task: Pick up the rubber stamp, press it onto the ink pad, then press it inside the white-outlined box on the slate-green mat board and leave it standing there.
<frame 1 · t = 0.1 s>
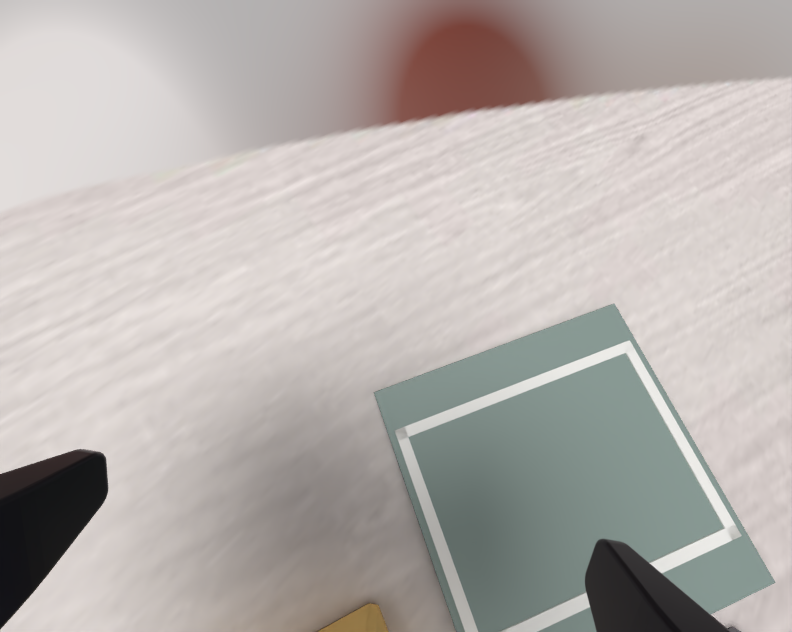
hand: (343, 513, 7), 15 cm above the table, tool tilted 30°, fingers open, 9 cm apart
marking board: (558, 480, 21), on the table
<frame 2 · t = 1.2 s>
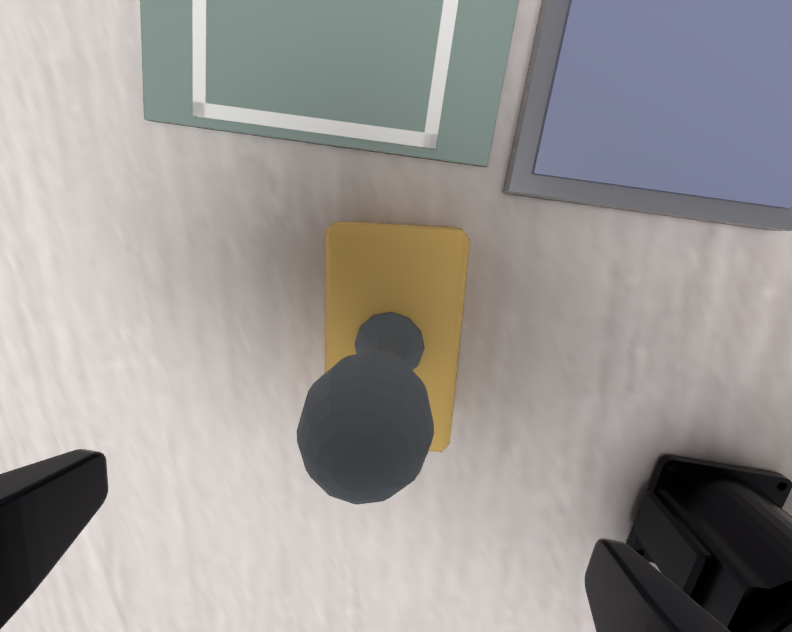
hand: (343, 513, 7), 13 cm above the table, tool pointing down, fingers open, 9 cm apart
ink pad: (686, 34, 15), on the table
rubber stamp: (397, 322, 20), on the table
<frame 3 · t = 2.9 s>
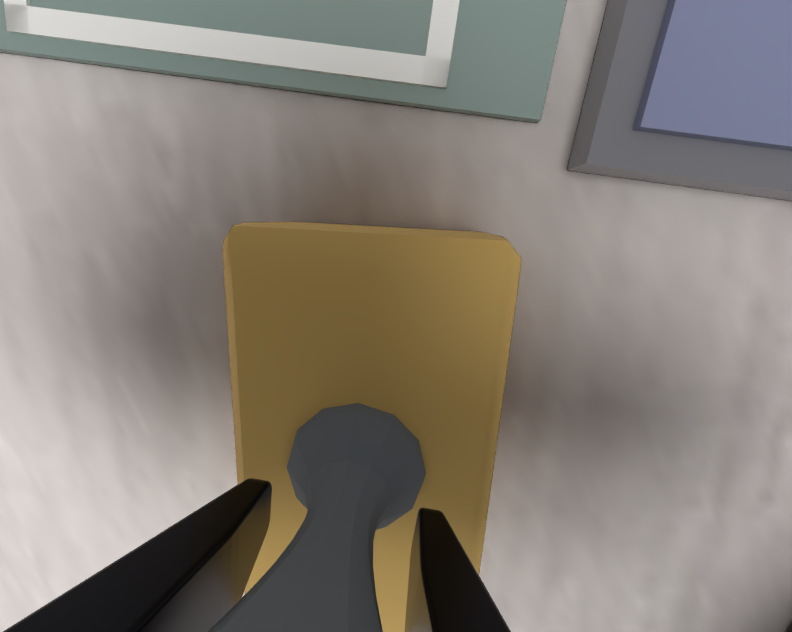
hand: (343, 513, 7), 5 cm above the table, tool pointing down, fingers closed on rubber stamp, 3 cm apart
rubber stamp: (380, 388, 12), on the table, touching gripper
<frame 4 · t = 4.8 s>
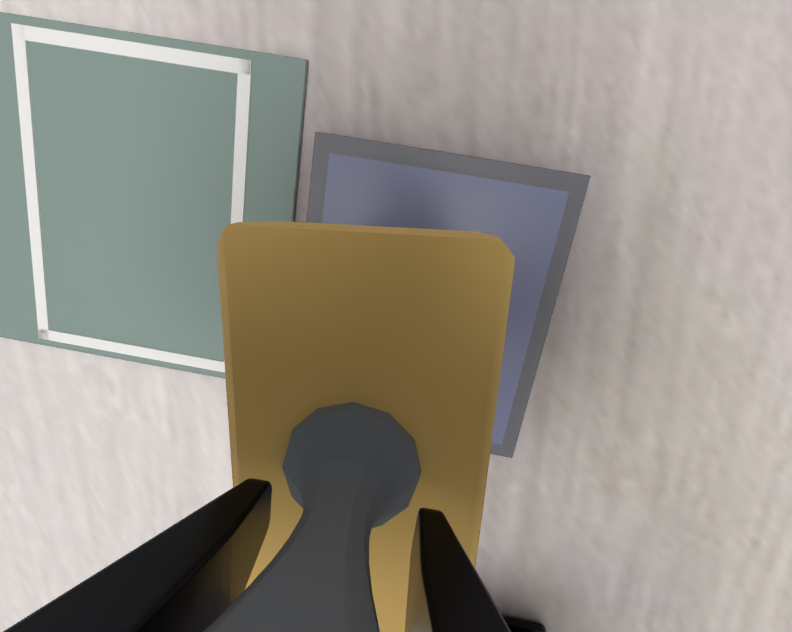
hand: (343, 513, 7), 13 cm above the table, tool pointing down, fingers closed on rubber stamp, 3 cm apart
ink pad: (422, 303, 19), on the table
rubber stamp: (375, 387, 12), point 8 cm above the table, touching gripper
marking board: (139, 215, 19), on the table
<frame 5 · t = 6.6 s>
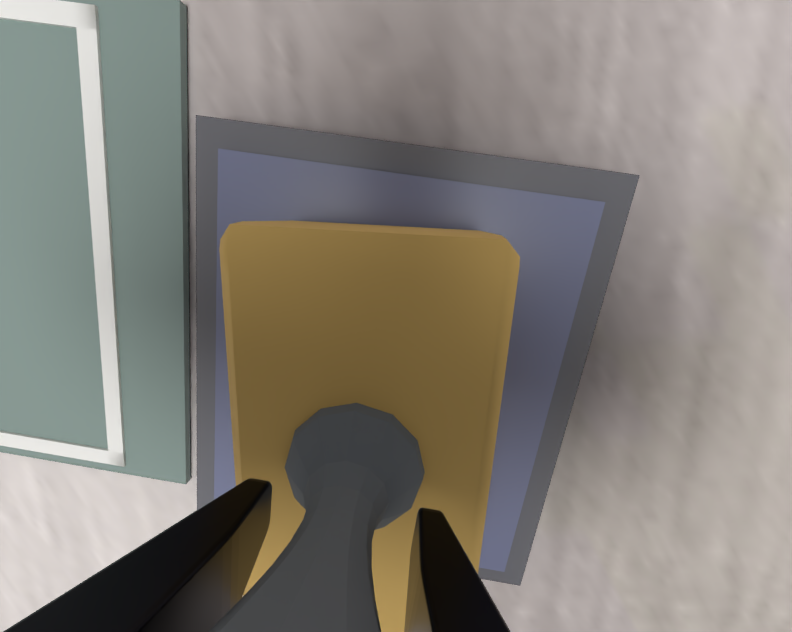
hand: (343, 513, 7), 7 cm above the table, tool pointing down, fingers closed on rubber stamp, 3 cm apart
ink pad: (384, 367, 13), on the table
rubber stamp: (378, 387, 12), point 1 cm above the table, touching gripper, ink pad
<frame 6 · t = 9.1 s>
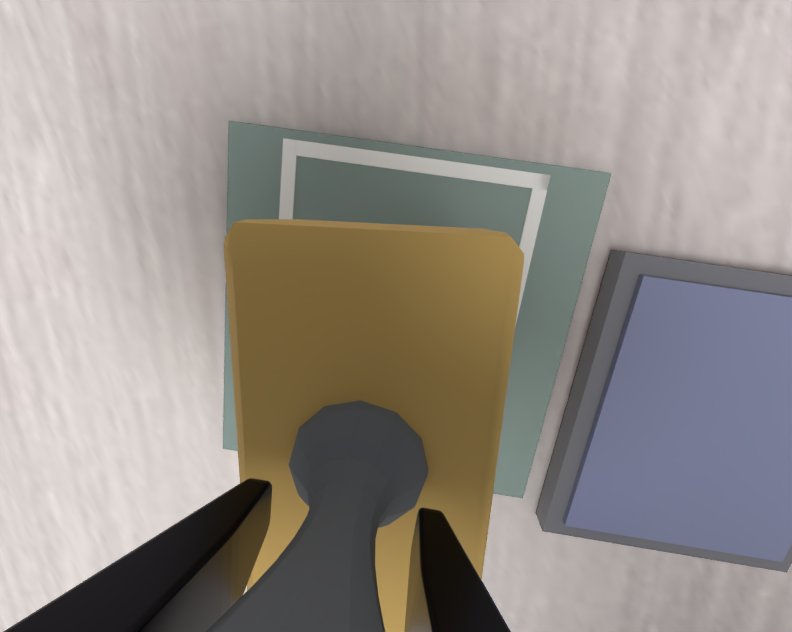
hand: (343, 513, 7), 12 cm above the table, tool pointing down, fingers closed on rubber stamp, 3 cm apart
ink pad: (695, 414, 18), on the table
rubber stamp: (382, 386, 12), point 6 cm above the table, touching gripper
marking board: (391, 327, 18), on the table
when the fingers open (5 cm above the table, at t = 10.6 s): rubber stamp stays where it is, resting on marking board.
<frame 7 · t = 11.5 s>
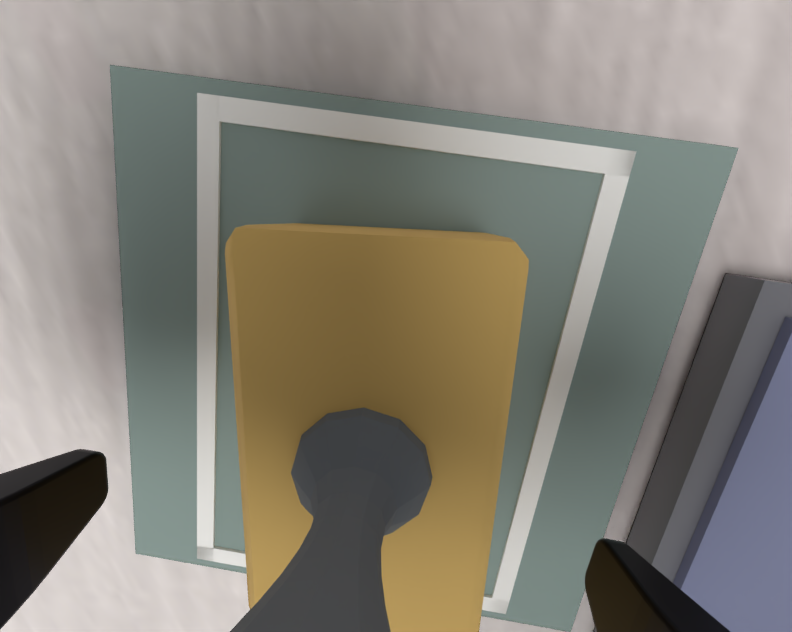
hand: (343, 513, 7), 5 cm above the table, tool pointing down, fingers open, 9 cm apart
rubber stamp: (383, 390, 12), resting on marking board
marking board: (376, 387, 12), on the table
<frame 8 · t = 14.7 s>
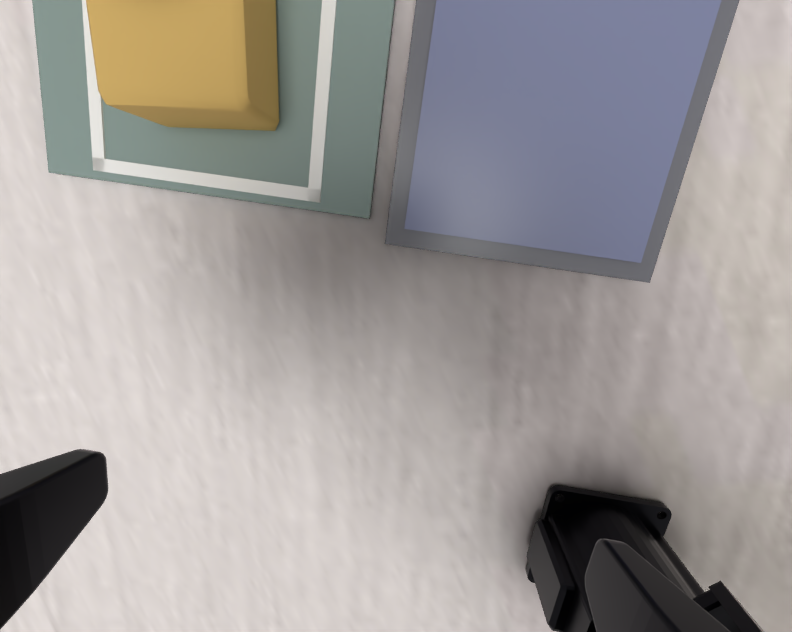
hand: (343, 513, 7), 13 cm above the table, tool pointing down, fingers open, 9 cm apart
ink pad: (544, 100, 16), on the table
rubber stamp: (215, 5, 16), resting on marking board
marking board: (211, 5, 16), on the table
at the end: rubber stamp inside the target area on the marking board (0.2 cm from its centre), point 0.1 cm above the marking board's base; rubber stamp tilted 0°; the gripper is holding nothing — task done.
